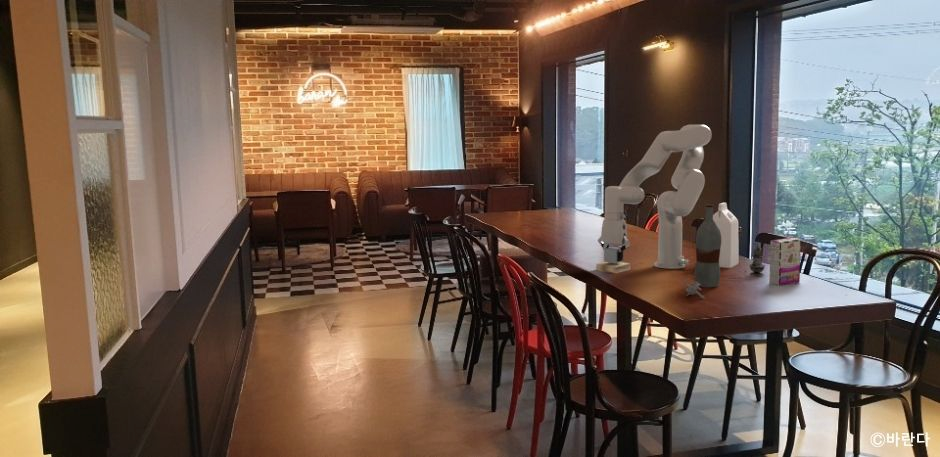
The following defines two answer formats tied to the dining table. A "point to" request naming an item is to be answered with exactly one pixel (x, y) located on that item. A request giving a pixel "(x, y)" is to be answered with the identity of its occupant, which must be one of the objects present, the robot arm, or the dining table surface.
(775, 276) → the candy bar box
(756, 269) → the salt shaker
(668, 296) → the dining table surface
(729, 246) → the milk
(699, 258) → the bottle
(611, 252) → the slate cube
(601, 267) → the beech block
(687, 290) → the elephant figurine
